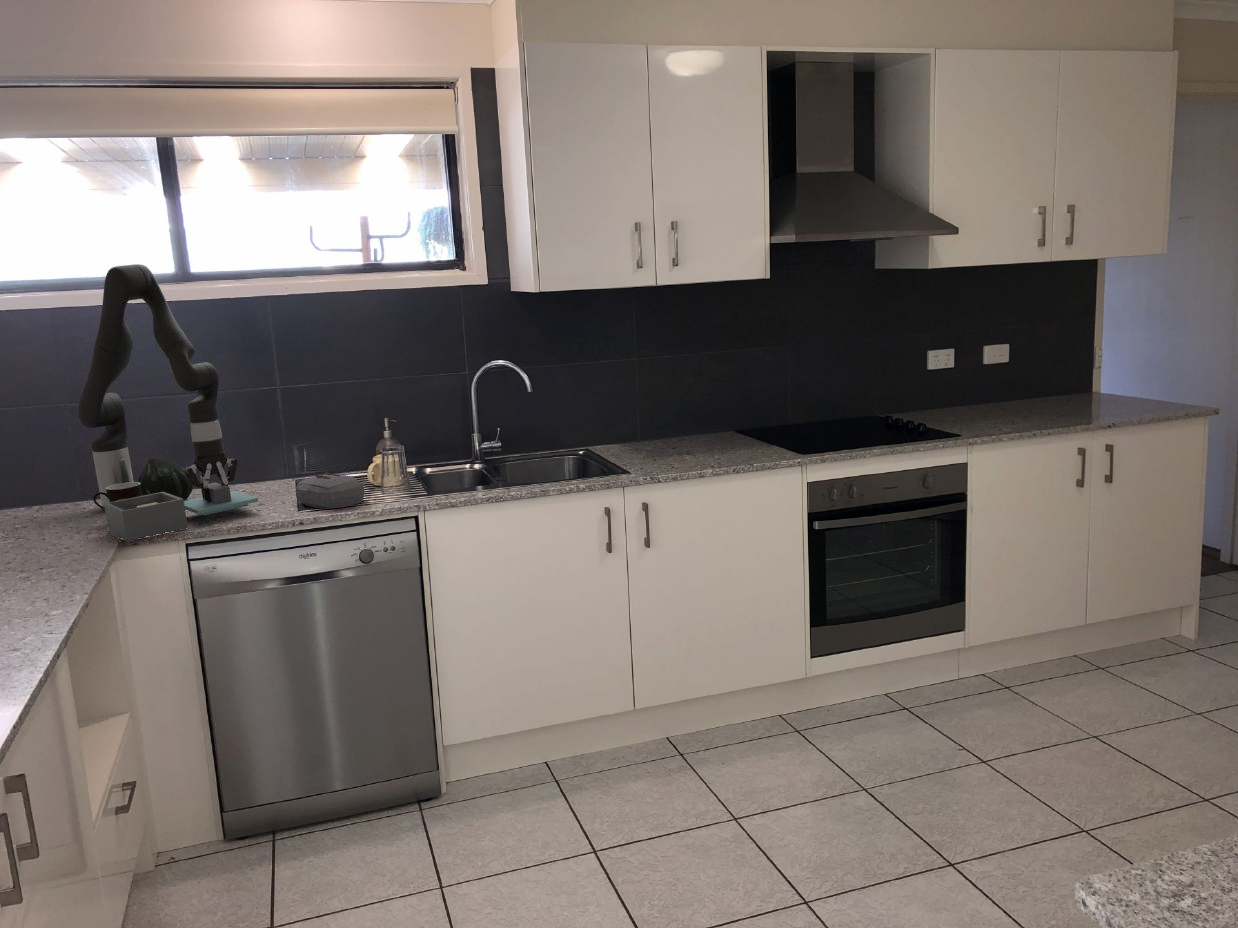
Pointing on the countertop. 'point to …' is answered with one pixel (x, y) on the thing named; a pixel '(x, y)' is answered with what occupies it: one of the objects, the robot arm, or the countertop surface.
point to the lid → (219, 500)
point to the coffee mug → (120, 492)
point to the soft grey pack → (330, 491)
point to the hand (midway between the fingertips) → (216, 499)
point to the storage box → (145, 516)
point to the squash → (165, 479)
